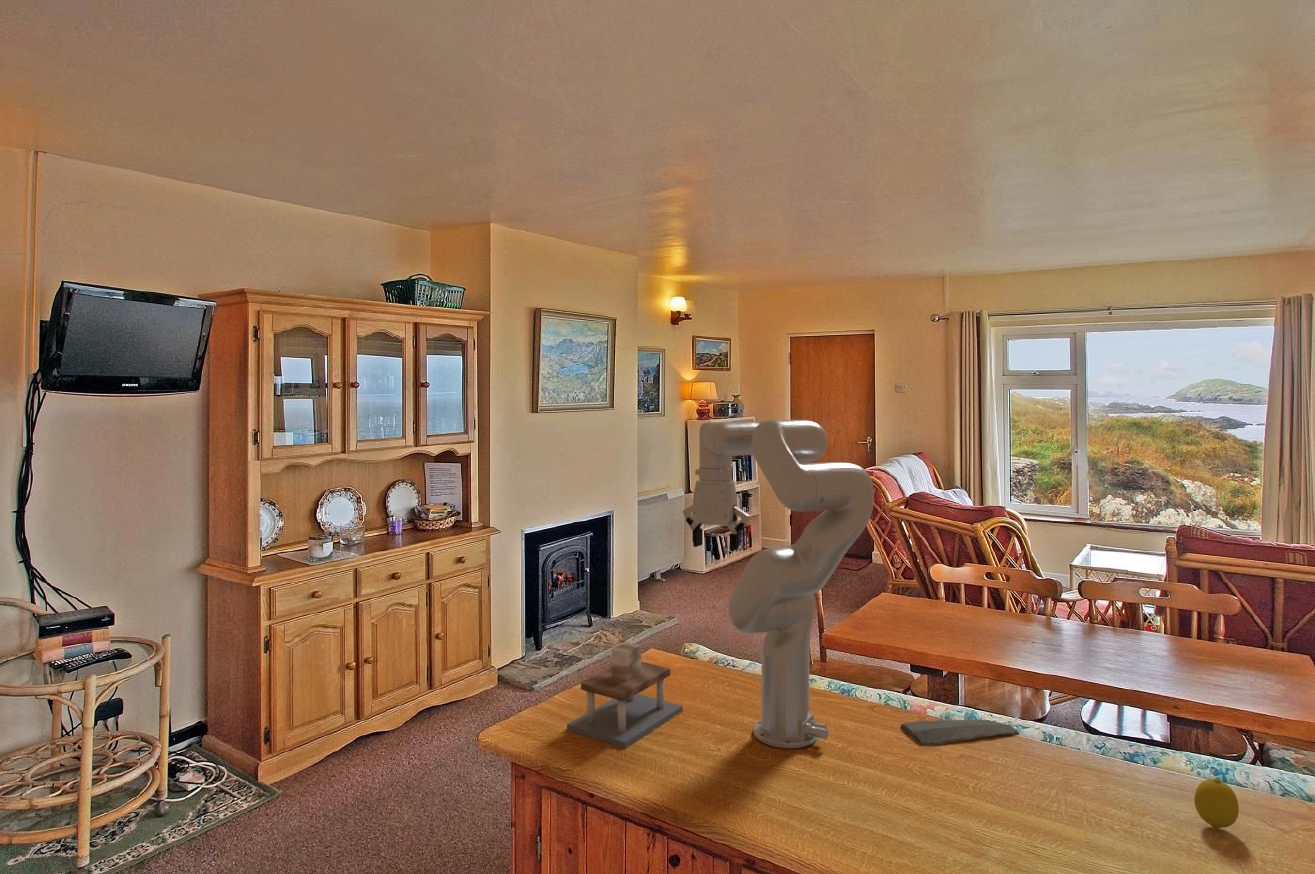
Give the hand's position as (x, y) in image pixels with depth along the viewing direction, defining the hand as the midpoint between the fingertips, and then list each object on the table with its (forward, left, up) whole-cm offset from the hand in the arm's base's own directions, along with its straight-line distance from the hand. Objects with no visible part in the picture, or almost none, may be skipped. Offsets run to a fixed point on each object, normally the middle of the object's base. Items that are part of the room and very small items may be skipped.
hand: (715, 548), depth 173 cm
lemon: (-94, +7, -34) cm, 100 cm away
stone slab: (-53, -7, -34) cm, 63 cm away
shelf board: (+7, +26, -25) cm, 37 cm away
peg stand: (+7, +26, -33) cm, 43 cm away
